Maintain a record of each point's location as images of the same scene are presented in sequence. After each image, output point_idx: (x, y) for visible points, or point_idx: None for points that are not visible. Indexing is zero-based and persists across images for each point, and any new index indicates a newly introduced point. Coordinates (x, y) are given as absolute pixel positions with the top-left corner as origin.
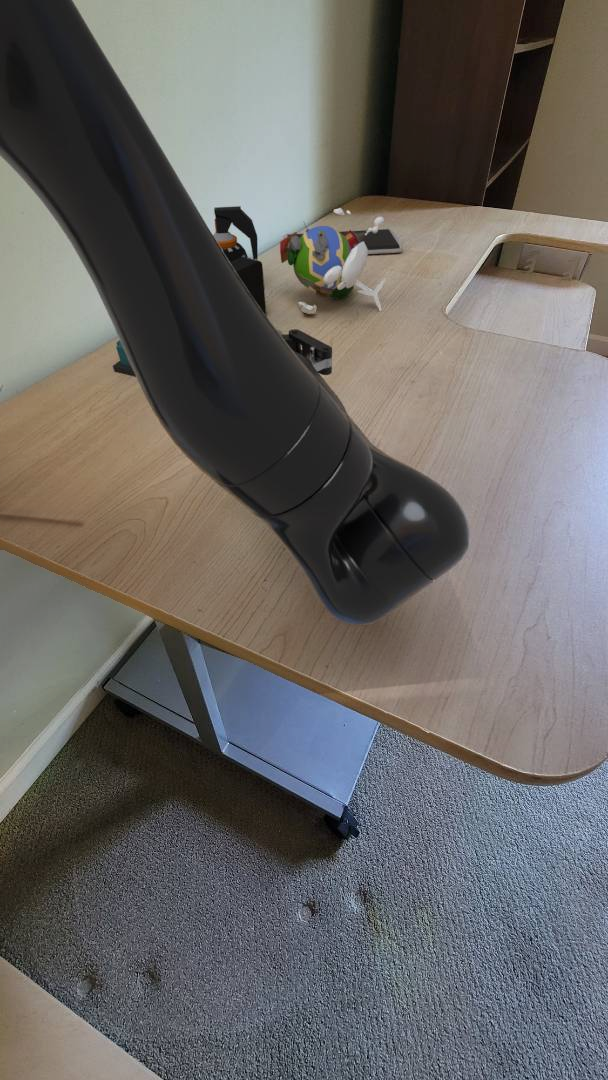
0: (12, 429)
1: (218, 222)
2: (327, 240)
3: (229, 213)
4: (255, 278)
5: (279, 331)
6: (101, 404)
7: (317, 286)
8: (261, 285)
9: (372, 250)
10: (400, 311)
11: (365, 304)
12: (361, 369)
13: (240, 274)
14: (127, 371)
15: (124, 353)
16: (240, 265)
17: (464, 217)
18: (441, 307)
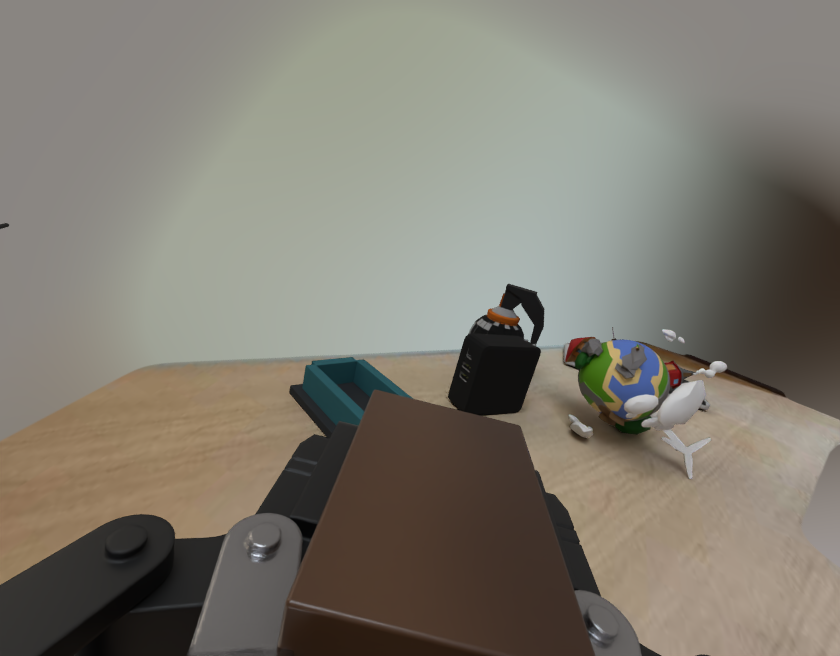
0: (73, 406)
1: (506, 297)
2: (645, 359)
3: (522, 293)
4: (525, 364)
5: (626, 630)
6: (220, 429)
7: (606, 407)
8: (529, 375)
9: (668, 394)
10: (724, 494)
11: (663, 457)
12: (668, 589)
13: (508, 351)
14: (300, 400)
15: (310, 377)
16: (512, 342)
17: (778, 404)
18: (799, 519)
